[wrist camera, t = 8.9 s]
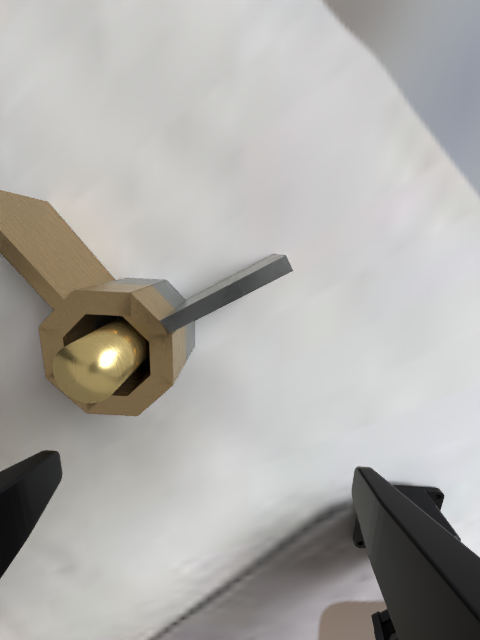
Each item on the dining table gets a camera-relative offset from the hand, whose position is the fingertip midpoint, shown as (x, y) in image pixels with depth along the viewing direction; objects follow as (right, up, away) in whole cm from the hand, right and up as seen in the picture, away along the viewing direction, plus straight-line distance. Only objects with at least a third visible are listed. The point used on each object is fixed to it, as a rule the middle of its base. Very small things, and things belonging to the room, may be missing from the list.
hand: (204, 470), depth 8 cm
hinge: (-4, +6, +11) cm, 14 cm away
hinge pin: (-6, +4, +12) cm, 14 cm away
